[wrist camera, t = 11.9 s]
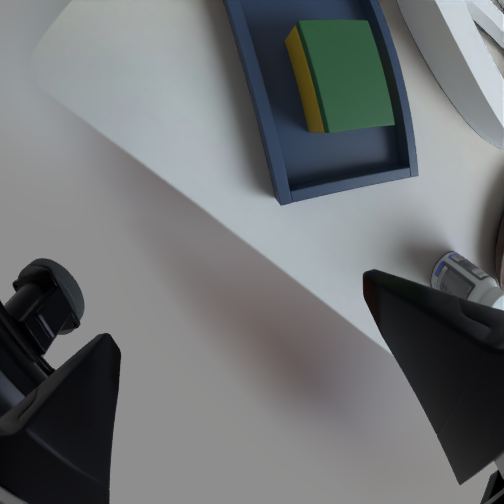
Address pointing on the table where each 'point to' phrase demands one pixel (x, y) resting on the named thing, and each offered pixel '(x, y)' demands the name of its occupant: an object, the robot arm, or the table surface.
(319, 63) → the sponge
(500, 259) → the plant saucer
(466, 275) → the pill bottle
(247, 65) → the tray
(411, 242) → the table surface
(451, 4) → the ring with crossbar
